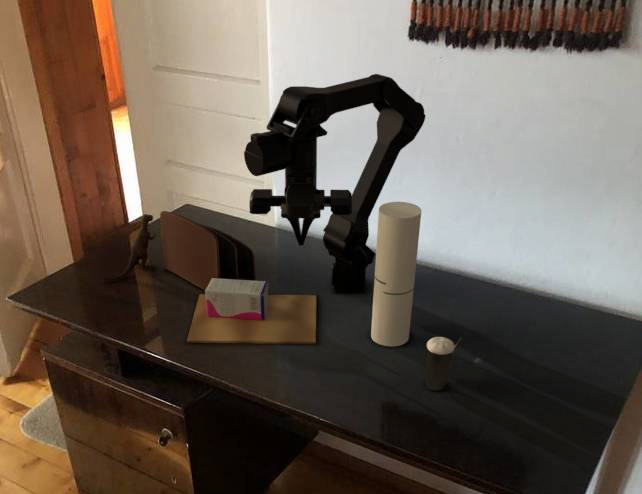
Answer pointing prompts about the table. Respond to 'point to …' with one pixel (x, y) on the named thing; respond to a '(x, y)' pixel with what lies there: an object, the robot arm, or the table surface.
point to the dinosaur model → (138, 249)
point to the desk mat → (259, 323)
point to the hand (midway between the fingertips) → (301, 244)
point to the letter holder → (203, 252)
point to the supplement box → (237, 299)
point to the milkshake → (438, 362)
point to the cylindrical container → (395, 272)
